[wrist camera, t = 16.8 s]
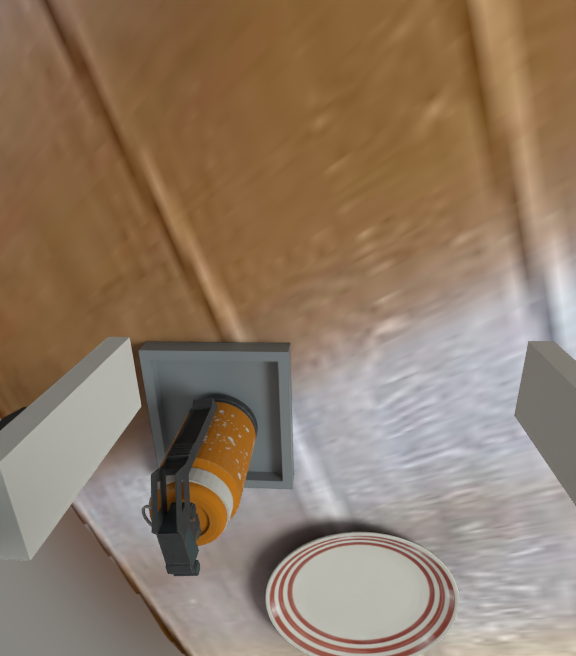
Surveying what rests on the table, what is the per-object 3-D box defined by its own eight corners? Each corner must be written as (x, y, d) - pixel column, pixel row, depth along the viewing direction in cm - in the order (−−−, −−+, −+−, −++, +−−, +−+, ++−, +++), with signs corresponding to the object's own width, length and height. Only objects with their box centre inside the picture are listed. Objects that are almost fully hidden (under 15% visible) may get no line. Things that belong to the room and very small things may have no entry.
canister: (196, 453, 59) (136, 594, 41) (177, 379, 55) (100, 497, 37) (263, 449, 58) (233, 591, 40) (249, 373, 54) (206, 492, 36)
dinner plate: (477, 532, 61) (485, 552, 58) (430, 660, 72) (434, 683, 69) (277, 502, 62) (275, 520, 59) (260, 632, 73) (257, 653, 70)
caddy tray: (146, 341, 54) (138, 350, 52) (290, 343, 53) (288, 352, 51) (167, 471, 62) (160, 484, 59) (293, 476, 60) (292, 489, 58)
